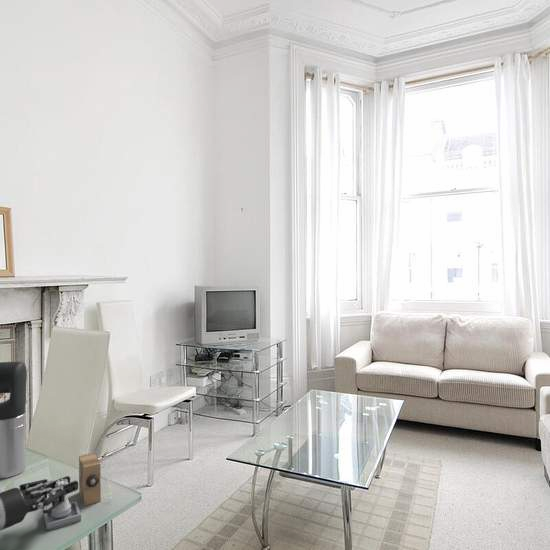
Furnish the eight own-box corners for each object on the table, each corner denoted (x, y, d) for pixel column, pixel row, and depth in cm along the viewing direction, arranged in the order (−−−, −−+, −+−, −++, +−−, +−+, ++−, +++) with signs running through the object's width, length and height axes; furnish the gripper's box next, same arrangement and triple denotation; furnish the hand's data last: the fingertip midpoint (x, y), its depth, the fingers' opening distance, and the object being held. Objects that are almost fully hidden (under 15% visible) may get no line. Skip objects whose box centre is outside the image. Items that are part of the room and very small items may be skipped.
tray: (43, 515, 106) (43, 509, 106) (76, 506, 110) (76, 501, 110) (46, 531, 99) (46, 524, 99) (81, 520, 103) (81, 514, 103)
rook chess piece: (75, 512, 105) (75, 480, 105) (57, 521, 101) (57, 487, 101) (65, 506, 107) (65, 475, 107) (47, 515, 104) (47, 482, 104)
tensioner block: (79, 492, 117) (78, 456, 117) (94, 488, 119) (94, 452, 119) (84, 507, 109) (84, 468, 109) (101, 502, 111) (101, 464, 111)
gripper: (10, 506, 89) (88, 475, 102) (-17, 486, 97) (59, 460, 111) (10, 542, 89) (88, 506, 103) (-17, 519, 97) (59, 488, 111)
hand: (72, 482), depth 107 cm, fingers closed on rook chess piece, 3 cm apart
